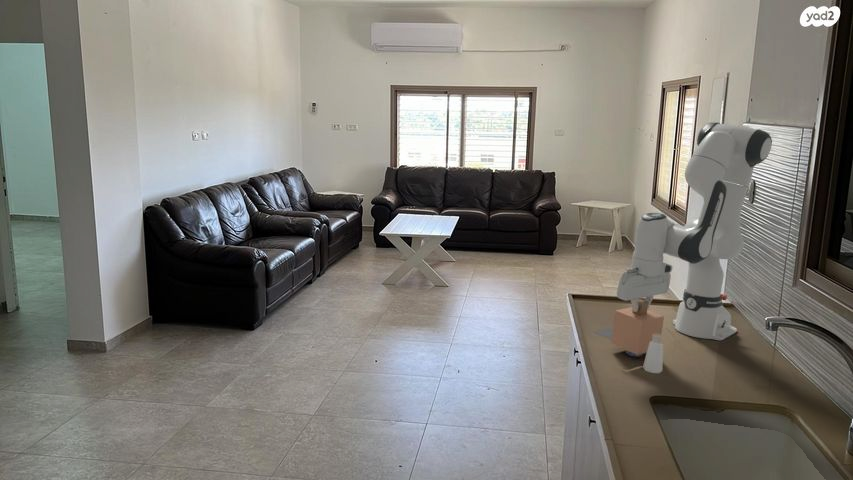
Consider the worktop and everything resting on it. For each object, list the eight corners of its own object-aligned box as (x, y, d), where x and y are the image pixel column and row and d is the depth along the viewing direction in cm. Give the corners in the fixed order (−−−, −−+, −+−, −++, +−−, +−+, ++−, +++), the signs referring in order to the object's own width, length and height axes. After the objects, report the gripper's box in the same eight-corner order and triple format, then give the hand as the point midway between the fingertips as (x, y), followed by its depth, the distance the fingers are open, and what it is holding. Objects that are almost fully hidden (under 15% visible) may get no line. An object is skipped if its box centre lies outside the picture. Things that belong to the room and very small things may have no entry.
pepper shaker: (662, 375, 183) (667, 339, 181) (642, 371, 185) (647, 336, 183) (662, 367, 188) (667, 333, 186) (643, 364, 190) (648, 330, 188)
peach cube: (632, 337, 203) (638, 294, 200) (658, 349, 195) (666, 303, 192) (610, 343, 198) (616, 298, 194) (637, 355, 190) (644, 308, 186)
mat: (616, 327, 220) (616, 326, 220) (643, 339, 210) (644, 338, 210) (593, 333, 213) (593, 331, 213) (620, 345, 204) (620, 343, 204)
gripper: (632, 272, 182) (625, 318, 185) (676, 266, 193) (669, 308, 197) (615, 267, 187) (609, 311, 191) (658, 260, 199) (652, 302, 202)
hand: (640, 310), depth 194 cm, fingers closed on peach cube, 3 cm apart
